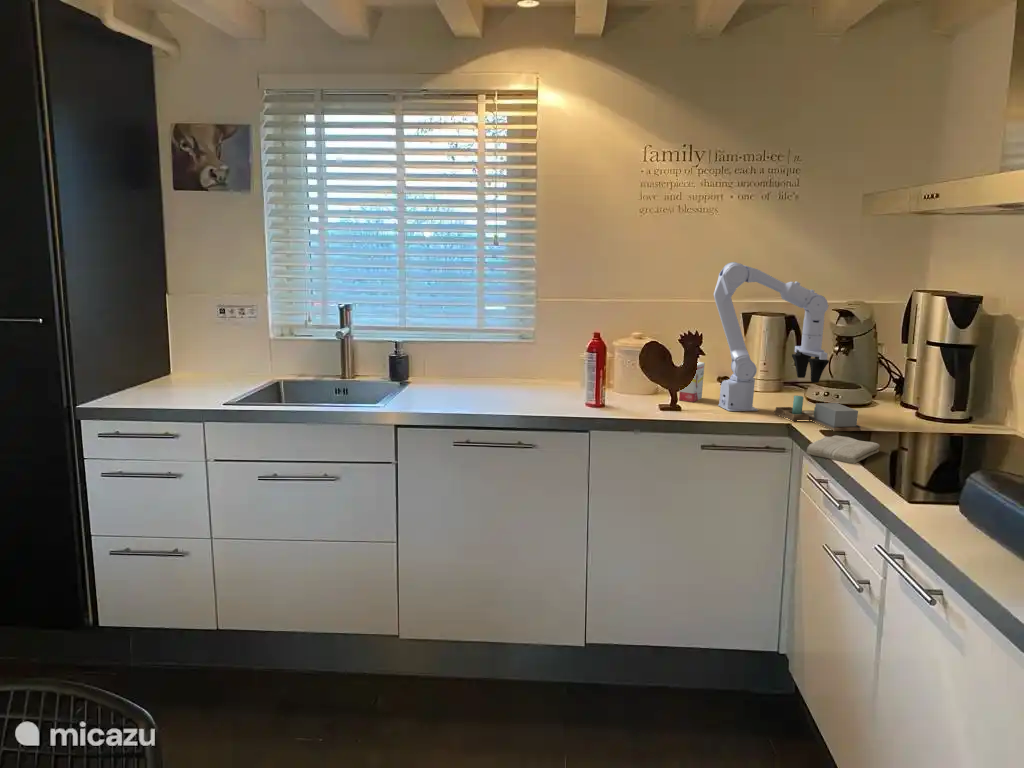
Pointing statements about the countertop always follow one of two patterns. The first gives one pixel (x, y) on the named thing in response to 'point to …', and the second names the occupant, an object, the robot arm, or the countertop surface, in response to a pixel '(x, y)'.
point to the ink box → (694, 386)
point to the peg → (797, 405)
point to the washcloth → (843, 449)
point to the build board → (788, 414)
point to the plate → (811, 417)
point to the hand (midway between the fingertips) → (807, 379)
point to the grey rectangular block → (836, 414)
